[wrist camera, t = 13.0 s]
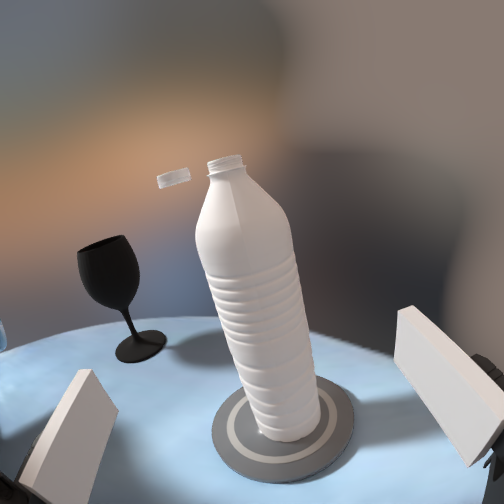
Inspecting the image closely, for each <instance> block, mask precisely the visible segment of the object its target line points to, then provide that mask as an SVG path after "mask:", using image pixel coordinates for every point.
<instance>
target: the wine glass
mask: <svg viewBox="0 0 504 504" xmlns="http://www.w3.org/2000/svg"><path fill="white" fill-rule="evenodd" d="M77 259H78V268H79V273H80V277H81V280H82V283H83V285H84V287H85V289H86V291H87V292H88V294H89V295H90V296H91V297H92V298H93V299H94V300H95V301H96V302H98V303H100V304H101V305H104V306H106V307H109V308H112V309H116V310H119V311H120V312H121V313H122V315H123V316H124V318H125V320H126V322H127V324H128V326H129V329H130V331H131V334H132V335H131V336H129V337H128V338H126V339H125V340H123V341H122V342H121V343H120V344H119V345H118V347H117V349H116V352H115V354H116V357H117V359H118V360H119V361H121V362H125V363H135V362H140V361H143V360H145V359H148V358H150V357H152V356H153V355H155V354H156V353H157V352H159V351H160V350H161V349H162V347H163V346H164V344H165V341H166V339H165V336H164V334H163V333H162V332H160V331H157V330H147V331H142V332H138V333H137V331H136V330H135V327H134V325H133V323H132V320H131V318H130V315H129V311H128V306H129V304H130V303H131V301H132V300H133V298H134V296H135V294H136V292H137V289H138V286H139V280H140V272H139V266H138V262H137V259H136V256H135V254H134V252H133V249H132V248H131V246H130V244H129V243H128V241H127V239H126V238H125V236H124V235H118V236H114V237H111V238H107V239H104V240H102V241H99V242H96V243H93V244H91V245H89V246H87V247H85V248H83V249H81V250H80V251H78V252H77Z"/></svg>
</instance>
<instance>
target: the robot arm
mask: <svg viewBox="0 0 504 504" xmlns="http://www.w3.org/2000/svg"><path fill="white" fill-rule="evenodd" d="M6 345H7V339H6V334H5V331H4V328H3V325H2V322H1V319H0V352H1V351H2V350H4V349H5V348H6ZM394 362H395V363H396V365H397V366H398V367H399V369H400V370H401V371H402V373H403V374H404V376H405V377H406V378H407V380H408V381H409V382H410V384H411V385H412V387H413V388H414V389H415V391H416V392H417V393H418V395H419V396H420V398H421V399H422V401H423V402H424V403H425V405H426V406H427V408H428V409H429V410H430V412H431V413H432V415H433V416H434V418H435V419H436V421H437V422H438V423H439V425H440V426H441V428H442V429H443V431H444V432H445V434H446V435H447V437H448V438H449V440H450V441H451V443H452V444H453V446H454V447H455V449H456V450H457V452H458V454H459V455H460V457H461V458H462V460H463V461H464V463H465V464H466V466H467V468H469V467H470V466H472V465H473V464H474V463H476V462H477V461H479V460H480V459H481V458H483V457H484V456H485V455H486V453H487V452H488V451H489V450H490V448H492V450H493V451H494V452H493V453H492V455H491V456H490V457H489V458H488V460H487V461H486V462H485V464H484V467H483V468H486V467H487V466H488V465H489V463H490V462H491V464H490V467H489V468H490V470H489V475H488V480H487V485H486V490H485V494H484V498H483V502H482V504H504V375H503V373H502V372H501V371H500V370H499V369H497V368H496V366H495V365H494V364H493V363H491V361H490V360H488V359H487V358H485V357H483V356H481V355H478V354H475V355H473V356H472V357H469V356H468V355H467V354H466V353H465V352H463V350H461V349H460V348H459V347H458V346H457V345H456V344H455V343H454V342H453V341H452V340H451V339H450V338H449V337H448V336H447V335H446V334H444V333H443V332H442V331H441V330H440V329H439V328H438V327H437V326H435V324H433V323H432V322H431V321H430V320H429V319H428V318H427V317H426V316H424V315H423V314H422V313H421V312H420V311H419V310H418V309H417V308H415V307H414V306H410V307H407V308H404V309H402V310H399V311H398V321H397V335H396V345H395V354H394ZM118 412H119V411H118V409H117V408H116V406H115V405H114V403H113V402H112V400H111V399H110V397H109V396H108V394H107V393H106V391H105V390H104V388H103V387H102V385H101V383H100V382H99V380H98V379H97V377H96V375H95V374H94V372H93V370H92V369H79V371H78V372H77V374H76V376H75V377H74V379H73V380H72V382H71V384H70V385H69V387H68V389H67V390H66V392H65V394H64V395H63V397H62V399H61V400H60V402H59V404H58V406H57V407H56V409H55V411H54V413H53V414H52V416H51V418H50V420H49V422H48V423H47V425H46V427H45V429H44V430H43V431H42V432H41V433H40V434H39V435H38V436H37V437H36V438H35V440H34V442H33V444H32V446H31V448H30V449H29V451H28V453H27V454H28V455H26V457H25V459H24V461H23V463H22V466H21V468H20V470H19V472H18V474H17V476H16V478H15V480H14V482H12V481H11V480H10V479H9V478H8V477H7V476H6V475H4V474H3V473H2V472H1V471H0V504H88V501H89V497H90V494H91V491H92V487H93V484H94V481H95V478H96V475H97V471H98V468H99V465H100V462H101V459H102V456H103V453H104V450H105V447H106V445H107V442H108V439H109V436H110V433H111V431H112V428H113V425H114V422H115V420H116V417H117V414H118Z"/></svg>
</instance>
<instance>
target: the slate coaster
mask: <svg viewBox="0 0 504 504" xmlns="http://www.w3.org/2000/svg"><path fill="white" fill-rule="evenodd" d="M316 385H317V389H318V398H319V403H320V410H321V417H320V421H319V423H318V425H317V426H316V428H315V429H314V431H313V432H311V433H310V434H309V435H307V436H306V437H303V438H300V439H299V440H296V441H292V442H282V441H274V440H271V439H269V438H268V437H266V436H265V435H264V434H263V433H262V432H261V431H260V429H259V427H258V424H257V422H256V419H255V416H254V413H253V411H252V409H251V406H250V403H249V400H248V398H247V396H246V393H245V390H244V387H242V388H240V389H239V390H237V391H236V392H234V393H233V394H232V395H231V396H230V397H229V398H228V399H226V401H225V402H224V403H223V404H222V405H221V407H220V408H219V410H218V411H217V413H216V415H215V418H214V421H213V425H212V439H213V443H214V446H215V448H216V450H217V452H218V454H219V455H220V457H221V458H222V460H223V461H224V462H225V463H226V465H227V466H228V467H229V468H231V469H232V470H233V471H235V472H236V473H238V474H240V475H242V476H243V477H246V478H249V479H251V480H255V481H259V482H265V483H287V482H294V481H298V480H301V479H305V478H307V477H310V476H312V475H315V474H317V473H318V472H320V471H322V470H324V469H325V468H326V467H328V466H329V465H331V464H332V463H333V462H334V461H335V460H336V459H337V458H338V457H339V456H340V455H341V454H342V452H343V451H344V450H345V448H346V446H347V445H348V443H349V441H350V438H351V435H352V431H353V422H354V413H353V407H352V404H351V401H350V400H349V398H348V396H347V395H346V393H345V392H344V391H343V390H342V389H341V388H340V387H339V386H338V385H336V384H335V383H333V382H331V381H329V380H327V379H325V378H322V377H320V376H316Z"/></svg>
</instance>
